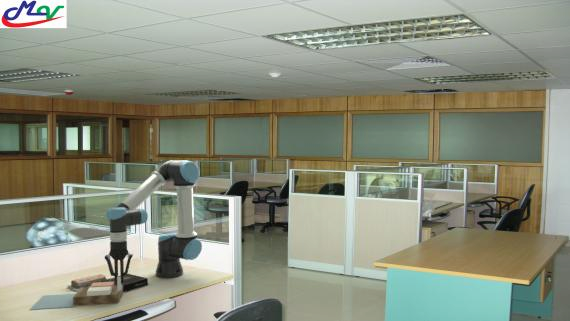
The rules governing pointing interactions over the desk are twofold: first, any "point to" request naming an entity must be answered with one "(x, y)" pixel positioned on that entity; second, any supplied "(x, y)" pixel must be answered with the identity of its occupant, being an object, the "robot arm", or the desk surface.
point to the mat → (54, 302)
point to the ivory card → (99, 291)
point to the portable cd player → (130, 282)
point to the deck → (96, 297)
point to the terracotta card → (103, 284)
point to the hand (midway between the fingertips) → (119, 289)
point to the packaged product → (85, 282)
